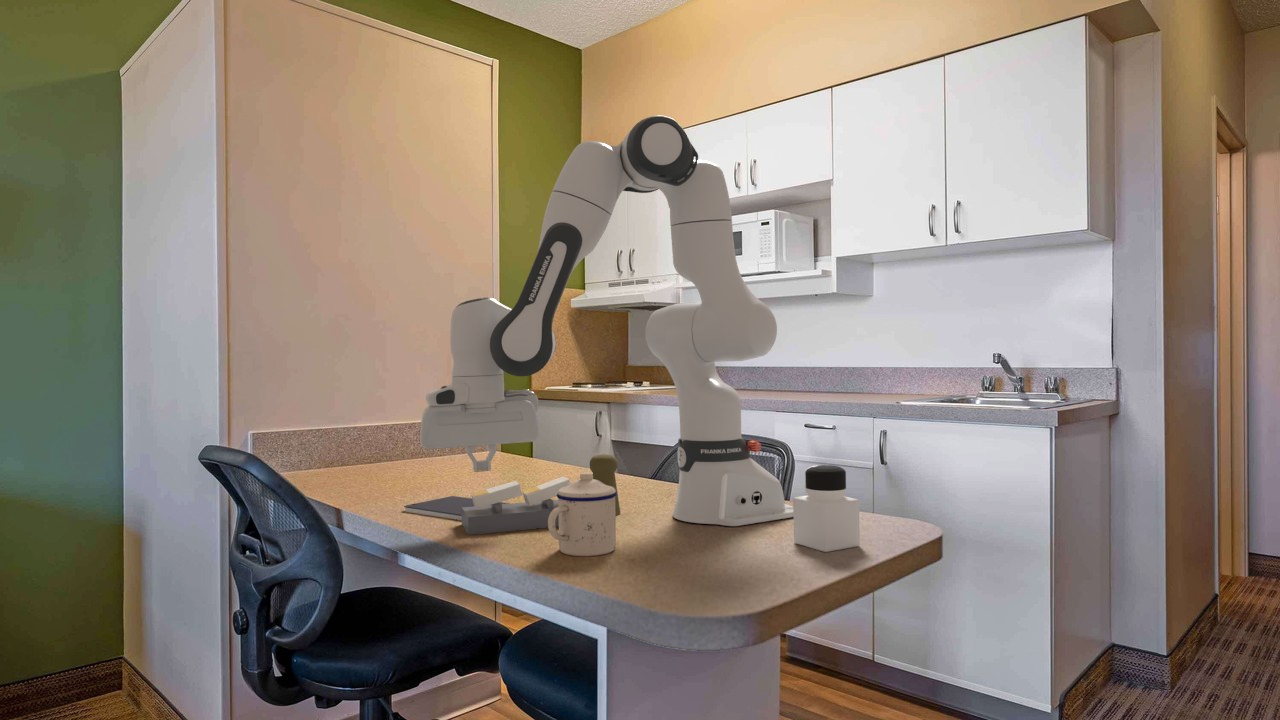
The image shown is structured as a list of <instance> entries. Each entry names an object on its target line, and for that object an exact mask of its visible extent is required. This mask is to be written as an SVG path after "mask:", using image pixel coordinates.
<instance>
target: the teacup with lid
mask: <svg viewBox="0 0 1280 720" xmlns="http://www.w3.org/2000/svg"><path fill="white" fill-rule="evenodd" d="M570 483H571V484H570V485H568V486H566V487H563V488H561V489H559V491H558V494H557V496H556V498H557V500H558V507H557V508H555V509H554V510H553V511H552V512H551V513H550V515H549V518H548V528H547V529H548V531H549V533H550V535H551V536H552V538H554V539H555V540H558V548H559V552H561V553H562V554H564V555H568V556H573V557H595V556H602V555H607V554H610V553H612V552H614V551H615V549H616V547H617V533H616V531H617V530H616V529H617V528H616V527H617V526H616V524H617V522H616V520H617V519H616V518H617V517H616V516H615V496H616V495H617V493H616V490H615V489H614V488H613V487H611V486H608V485H605V484H603V483H602V482H600V481H598V480H595V479H593V472H581V473H580V474H579V479H577V480H574V481H573V482H570ZM558 514H559V527H558V529H557V527H556V526H555V521H556V517H557V516H558Z"/></svg>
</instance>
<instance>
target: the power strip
mask: <svg viewBox="0 0 1280 720" xmlns="http://www.w3.org/2000/svg"><path fill="white" fill-rule="evenodd" d="M557 507H558V499H552V498H550V499H547V500H544V501H542V502H539V503H536V504H534V505H531V506H529V505H528V504H527V503H526V502H525V501H524V502H515V503H510V504H501V503H500V502H498V503H495V504H492V505H489V506H485V507H482V508H479V509H477V508H476V507H462V520H461V525H462V527H463V528H464V530H465V533H467V535H468V536H471V535H472V536H473V535H484V534H493V533H494V534H495V533H504V532H505V533H506V531H507V532H515V531H516V530H518V531H527V530H526V529H528V530H537V529H536V528H539V529H547V528H546V527H548V518H549V515H550V513H551V512H552V511H553V510H554V509H555V508H557ZM555 526H556V528H559V514H558V516H557V517H556V521H555ZM516 532H517V531H516Z"/></svg>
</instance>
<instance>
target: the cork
mask: <svg viewBox="0 0 1280 720" xmlns="http://www.w3.org/2000/svg"><path fill="white" fill-rule="evenodd" d="M589 468H590V471H591V473H592V474H593V479H595V480H598V481H600V482H602V483H603V484H605V485H608V486H611V487H613V488H614V489H615V490H616V493H617V495H616V496H615V516H619V515H621V506H620V500H619V499H620V498H619V494H618V487H617V482H616V481H617V480H616V474H615V473H616V471H617V468H618V459H617V458H616V457H615V456H614V455H612V454H606V453H605V454H597V455H594V456H592V457H591V458H590V460H589Z"/></svg>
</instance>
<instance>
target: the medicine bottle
mask: <svg viewBox="0 0 1280 720" xmlns="http://www.w3.org/2000/svg"><path fill="white" fill-rule="evenodd" d="M804 477H805V479H804V481H805V482H804V483H805V487H804V488H805V489H804V490H805V493H806V494H807V495H801V496H795V497H793V499H792V500H793V501H792V504H793V506H792V507H793V514H794V517H793V543H794V544H797V545H799V546H803V547H807V548H810V549H813V550H817V551H819V552H824V553H829V552H834V551H839V550H844V549H845V550H846V549H850V548H851V549H852V548H856V547H857V548H858V547H860V544H861V543H860V538H861V537H860V534H861V533H860V500H859V499H857V498H852V497H848V496H845V495H846V494H847V471H846V470H845V469H844V468H842V467H841V466H838V465H831V464H825V465H824V464H816V465H811V466H809V467H807V468H806V469H805V471H804Z"/></svg>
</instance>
